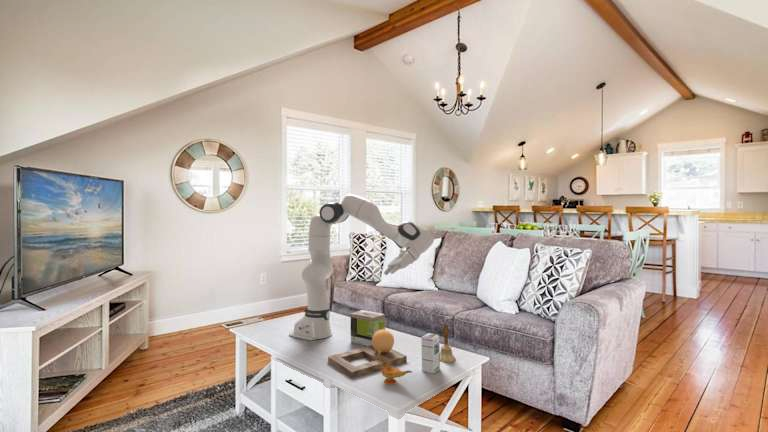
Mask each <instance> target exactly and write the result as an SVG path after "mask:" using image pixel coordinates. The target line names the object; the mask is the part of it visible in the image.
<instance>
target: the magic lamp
mask: <svg viewBox="0 0 768 432" xmlns="http://www.w3.org/2000/svg"><path fill="white" fill-rule="evenodd" d="M378 353H379V354H378V356H379V357H380V354H381V351H380V350H379V349H378ZM378 356H377V358H378ZM380 360H381V358H380ZM377 362H378V360H377ZM378 363H379V362H378ZM381 363H382V361H381ZM382 364H383V363H382ZM379 365H380V366H381V364H380V363H379ZM384 366H386V367H385V368H383V367H382V366H381V367H382V368H383V369H381V370H380V372H381V374H382V376H383V377H384V378H386V379H384V380H383V383H384V384H386V385H394V384H396V383H397V382H398V381H397V379H398V378H400V377H403V376H405V375H407V374H409V373H410V374H411V373H413V371H412V370H405V371H404V370H403V371H401V370H399V368H397V367H394V366H391V365H390V363H389V362H388V363H387V364H386V365H384Z"/></svg>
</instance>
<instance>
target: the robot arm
mask: <svg viewBox="0 0 768 432" xmlns="http://www.w3.org/2000/svg"><path fill="white" fill-rule="evenodd" d="M349 216H350V217H353V218H355V219H356V220H358V221H361V222H362V223H363V224H365V225H367V226H369V227H370V228H372V229H374V230H375V231H376V232H378V233H380V234H381V235H383V236H385V238H388V239H389V240H391V241H393V242H394V243H395V244H396V246H397V247H398V248H399V254H398V256H396V257H394V259H393V260H391V261H389V263H388V264H387V265H386V266H387V268H386V269H385V271H384V272H383V274H384V275H385V276H388V275H389V274H390V275H393V274H395V273H396V272H398V270H401V269H405V268H406V267H408V266H409V265H413V264H414V262H416V261H418V259H419V258H420V257H421V255H422V254H424V253H425V252H426V251H427V250H428V249H429V248H430V247H431V246H432V245H433V244H434V241H435V237H434V235H433V233H432V231H431V230H430V229H428V228H426V227H424V228H423V227H420V226H418V225H416V224H415V223H414V222H411V220H410V221H409V220H408V221H407V220H405V221H402V222H400V223H399V224H398V226H397V227H394V226H393V225H392V224H390V223H388V222H387V221H386V220H385V219H384V217H383V216H382V213H381V212H380V209H379V207H378V206H377V205H376V204H375V203H374V202H373V201H370V200H368V199H367V198H364V197H362V196H359V195H356V194H353V193H349V194H346V195H345V196H344V197H343V199H342V201H341V202H339V201H336V202H335V201H332V202H326V203H325V204H323V205H322V206H321V207H320V209H319V214H315V215H313V216H312V217H311V219H310V222H309V227H308V228H309V229H308V248H307V249H308V252H309V254H310V259H311V262H310V263H309V264H307V266H305V267H304V269H303V270H302V272H301V279H302V280H303V282H304V283H305V289H306V293H307V308H305V309H304V310H303V313H304V315H303V316H301V318H299V319H298V320H296V322H295V323H294V325H293V326H294V327H293V329H292V330H291V331H290V332H289V333H288V335H289V336H290V337H294V338H297V339H302V340H306V341H314V340H319V339H320V340H321V339H326V338H329V337H331V336H332V335H333V332H332V329H331V320H330V317H331V315H330V313H331V312H330V311H331V309H330V293H329V291H328V288H327V285H326V284H327V282H326V280H328V279H329V278H330V277H331V275H332V274H333V272H334V267H333V264H332V258H331V251H330V250H331V248H330V247H331V246H330V245H331V228H332V226H333V225H336V224H340V223H343V222H345V221H346V220H347V219H348V218H349Z"/></svg>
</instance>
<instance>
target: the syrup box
mask: <svg viewBox="0 0 768 432" xmlns="http://www.w3.org/2000/svg"><path fill="white" fill-rule="evenodd" d="M440 352H441V349H440V335H439V334H437V333H436V334H435V333H431V332H430V333H429V332H428V333H426V334H424V335H423V336H421V371H422V372H425V373H430V374H435V373H436V372H438V370H440V369H441V368H440V367H441V365H440V362H441V361H440Z"/></svg>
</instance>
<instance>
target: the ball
mask: <svg viewBox="0 0 768 432" xmlns="http://www.w3.org/2000/svg"><path fill="white" fill-rule="evenodd" d="M394 344H395V338H394V335H393V334H392V333H391V331H389V330H387V329H385V330H378V331H377V332H376V333H375V334H374V335H373V337H372V345H373V347H374V349H375V350H376V351H378V349H379V350H380V351H381V353H385V352H388V351H390V350H391V349H393V346H394Z"/></svg>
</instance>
